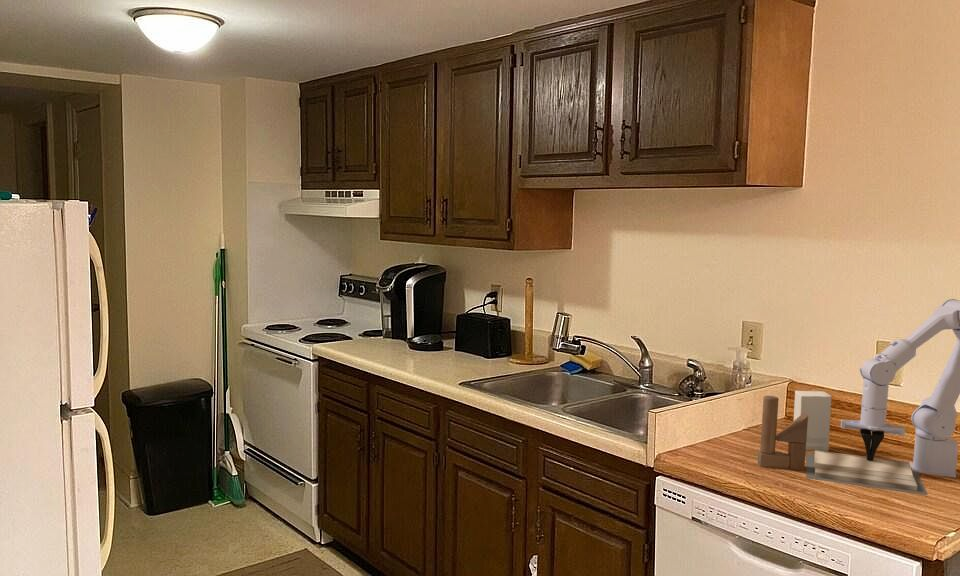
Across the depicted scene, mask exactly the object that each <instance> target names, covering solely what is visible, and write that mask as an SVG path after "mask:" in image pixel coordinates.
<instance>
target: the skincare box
mask: <svg viewBox="0 0 960 576" xmlns="http://www.w3.org/2000/svg"><path fill="white" fill-rule="evenodd" d="M832 398H833V396H832V395H830V394H829V393H828V392H825V391H824V390H818V391H817V390H795V391H794V406H793V421H794V420H796V419H797V418H798V417H799V416H800V415H802V414H803V413H805V414H806V415H807V416H808V425H807V439H806V451H811V452H812V451H813V452H815V450H817V451H825V452H829V450H830V430H831V429H830V428H831V412H832V411H831V410H832Z"/></svg>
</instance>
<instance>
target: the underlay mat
mask: <svg viewBox="0 0 960 576" xmlns="http://www.w3.org/2000/svg"><path fill="white" fill-rule="evenodd" d="M911 470H912V468H911ZM912 474H913V477H914V479H915V482H916V484H917V491H912V490H905V489H898V488H890V487H883V486H876V485H869V484H862V483H855V482H848V481H841V480H834V479H827V478H819V477H815V453H814V454H812V453H807V452H806V453H805V478H806V479H808V480H810V479H811V480H816V481H817V480H818V481H822V482H823V481H824V482H830V483H838V484H845V485H851V486H852V485H853V486H859V487H866V488H872V489H873V488H874V489H880V490H888V491H895V492H901V493H908V494H916V495H924V496H929V494H928V492H927V491H926V488H925V486H924V483H923V482H922V480H921V477H920V475H919V473H918V472H913V470H912Z"/></svg>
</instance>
